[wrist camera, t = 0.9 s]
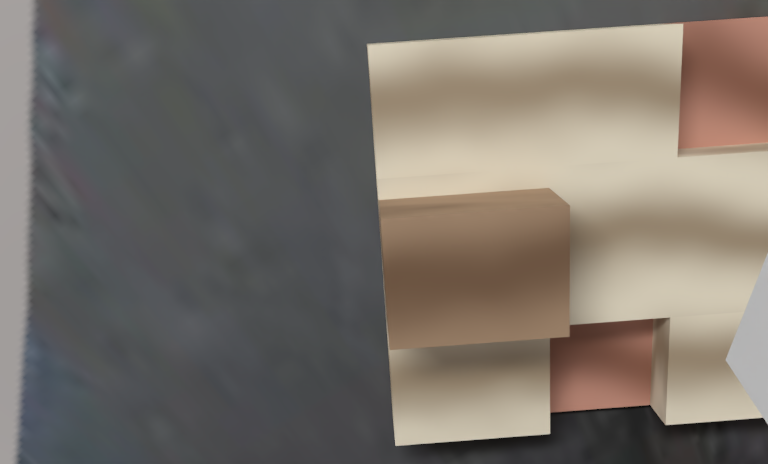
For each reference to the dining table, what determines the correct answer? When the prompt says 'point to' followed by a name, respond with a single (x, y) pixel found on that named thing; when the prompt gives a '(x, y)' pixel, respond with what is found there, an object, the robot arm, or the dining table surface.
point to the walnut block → (476, 268)
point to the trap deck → (590, 212)
